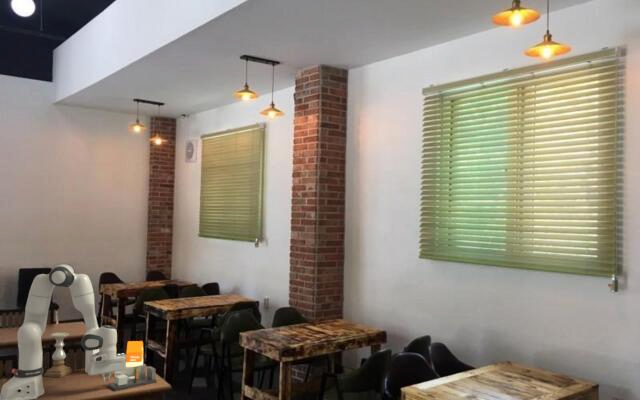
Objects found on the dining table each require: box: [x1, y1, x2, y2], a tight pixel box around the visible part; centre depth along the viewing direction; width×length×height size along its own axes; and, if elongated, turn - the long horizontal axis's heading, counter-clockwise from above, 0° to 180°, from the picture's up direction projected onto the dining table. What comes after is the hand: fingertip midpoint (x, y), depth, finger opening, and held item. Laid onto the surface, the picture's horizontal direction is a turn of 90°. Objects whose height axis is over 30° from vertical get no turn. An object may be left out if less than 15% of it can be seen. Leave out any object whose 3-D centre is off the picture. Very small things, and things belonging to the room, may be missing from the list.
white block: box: [115, 375, 135, 386], centre depth 303 cm, size 10×7×4 cm, turn 132°
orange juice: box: [125, 340, 144, 368], centre depth 324 cm, size 8×9×20 cm
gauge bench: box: [107, 363, 158, 392], centre depth 306 cm, size 24×11×8 cm, turn 132°
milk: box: [84, 349, 99, 373], centre depth 328 cm, size 6×6×22 cm
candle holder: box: [44, 331, 73, 378], centre depth 321 cm, size 11×11×24 cm
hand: (106, 380), depth 296 cm, fingers closed
